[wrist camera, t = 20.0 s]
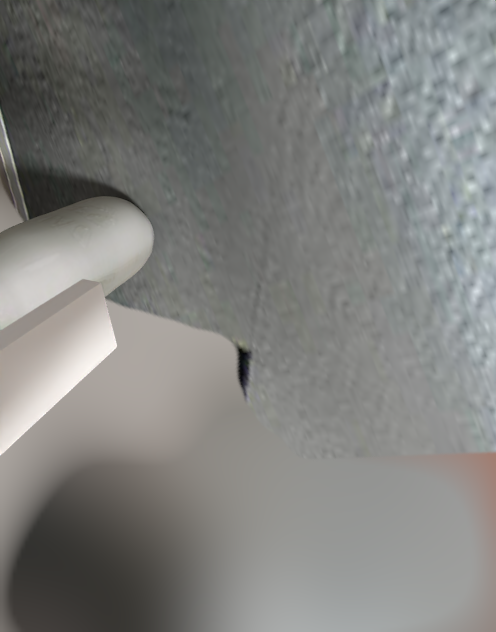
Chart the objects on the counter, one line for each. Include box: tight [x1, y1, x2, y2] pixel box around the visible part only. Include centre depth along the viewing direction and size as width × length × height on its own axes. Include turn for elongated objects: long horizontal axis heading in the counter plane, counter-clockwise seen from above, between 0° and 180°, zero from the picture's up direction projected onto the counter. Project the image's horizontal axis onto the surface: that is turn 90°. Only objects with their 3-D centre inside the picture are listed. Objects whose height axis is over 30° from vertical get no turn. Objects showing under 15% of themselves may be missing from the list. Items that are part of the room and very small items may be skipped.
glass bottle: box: [0, 196, 154, 330], centre depth 38 cm, size 10×10×28 cm
